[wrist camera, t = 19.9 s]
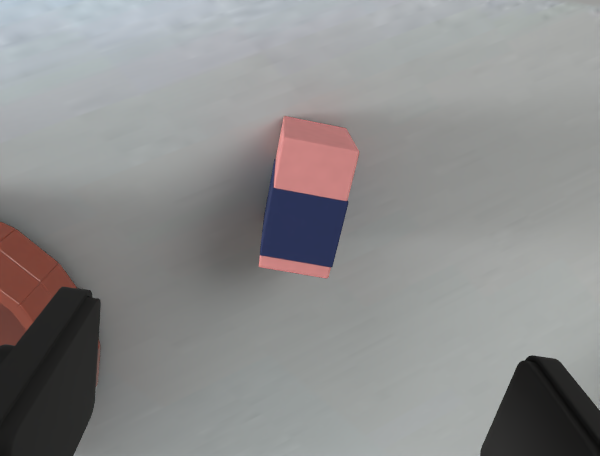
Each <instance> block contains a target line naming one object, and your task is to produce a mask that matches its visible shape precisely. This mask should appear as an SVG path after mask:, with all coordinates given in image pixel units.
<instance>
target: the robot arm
mask: <svg viewBox="0 0 600 456" xmlns="http://www.w3.org/2000/svg"><path fill="white" fill-rule="evenodd" d="M100 306H101V302H100V299H97V298H92V292H91V291H90V290H84V289H77V288H70V287H61V288H60V289H59V290H58V291H57V293H56V294H55V295H54V296H53V298H52V299H51V300H50V302H49V303H48V304H47V305H46V307H45V308H44V309H43V310H42V312H41V313H40V314H39V316H38V317H37V318H36V319H35V321H34V322H33V323H32V324H31V326H30V327H29V328H28V330H27V331H26V332H25V333H24V335H23V336H22V337H21V338H20V340H19V341H18V342H17V344H16V345H15V346H14V345H7V344H4V345H1V346H0V456H73V455H74V453H75V450H76V448H77V446H78V444H79V442H80V440H81V437H82V435H83V433H84V431H85V429H86V426H87V424H88V422H89V420H90V418H91V415H92V412H93V408H94V403H95V390H96V373H97V356H98V340H99V323H100ZM480 456H600V410H599V409H598V408H597V407H596V406H595V404H594V403H593V402H592V401H591V399H590V398H589V397H588V396H587V394H586V393H585V392H584V391H583V390H582V388H581V387H580V386H579V385H578V383H577V382H576V381H575V380H574V378H573V377H572V376H571V375H570V373H569V372H568V371H567V370H566V369H565V367H564V366H563V365H562V364H561V362H559V361H558V360H557V359H553V358H546V357H539V356H529V357H528V358H526V360H525V361H521V362H520V363H519V364H518V366H517V368H516V370H515V372H514V375H513V377H512V379H511V382H510V384H509V386H508V388H507V391H506V393H505V395H504V398H503V400H502V402H501V404H500V407H499V409H498V411H497V413H496V416H495V418H494V420H493V423H492V425H491V427H490V429H489V432H488V434H487V436H486V439H485V441H484V443H483V445H482V448H481V453H480Z"/></svg>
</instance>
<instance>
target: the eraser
mask: <svg viewBox="0 0 600 456" xmlns="http://www.w3.org/2000/svg"><path fill="white" fill-rule="evenodd" d="M358 156H359V150H358V149H357V147H356V145H355V143H354V142H353V140H352V138H351V136H350V134H349V133H348V131H347V129H346V128H342V127H337V126H332V125H327V124H322V123H317V122H312V121H307V120H302V119H297V118H292V117H287V116H284V118H283V123H282V128H281V134H280V139H279V144H278V150H277V155H276V159H275V160H274V165H273V171H272V176H271V181H270V187H269V192H268V197H267V203H266V208H265V213H264V222H263V230H262V239H261V248H260V259H259V267H262V268H268V269H274V270H280V271H286V272H292V273H298V274H303V275H309V276H315V277H321V278H328V277H329V273H330V269H331V267H332V266H333V262H334V258H335V254H336V250H337V246H338V242H339V238H340V234H341V230H342V226H343V222H344V218H345V214H346V210H347V206H348V196H349V192H350V188H351V184H352V180H353V176H354V172H355V168H356V164H357V160H358Z"/></svg>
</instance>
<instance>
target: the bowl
mask: <svg viewBox="0 0 600 456" xmlns="http://www.w3.org/2000/svg"><path fill="white" fill-rule="evenodd" d="M61 287H70V288H77V287H76V286H75V284H74V283H73V282H72V280H71V279H70V277H69V276H68V275H67V273H66V272H65V270H64V269H63V268H62V266H61V265H60V264H59V263H58V262H57V261H56V260H54V259H53V258H52V257H51V256H49V255H48V254H47V253H46V252H44V251H43V250H42V249H41V248H39V247H38V246H37V245H36V244H35V243H33V242H32V241H31V240H30V239H28V238H27V237H26V236H25V235H23V234H22V233H21V232H20V231H18V230H17V229H16V230H15V228H14V227H11V226H9V225H7V224H5V223H2V222H0V346H1V345H4V344H7V345H14V346H15V345H16V344H17V342H18V341H19V340H20V338H21V337H22V336H23V335H24V333H25V332H26V331H27V330H28V328H29V327H30V326H31V324H32V323H33V322H34V321H35V319H36V318H37V317H38V316H39V314H40V313H41V312H42V310H43V309H44V308H45V307H46V305H47V304H48V303H49V302H50V300H51V299H52V298H53V296H54V295H55V294H56V293H57V291H58V290H59V289H60V288H61ZM99 361H100V342H99V340H98V356H97V373H96V386H97V383H98V376H99Z"/></svg>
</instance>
